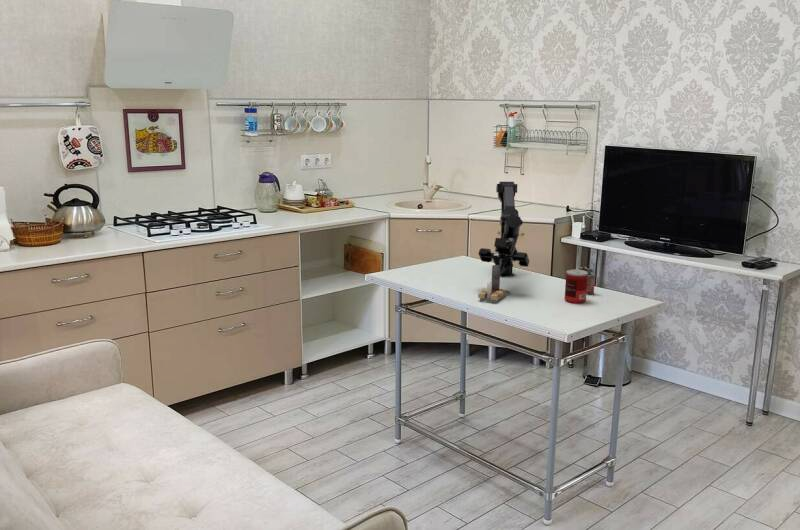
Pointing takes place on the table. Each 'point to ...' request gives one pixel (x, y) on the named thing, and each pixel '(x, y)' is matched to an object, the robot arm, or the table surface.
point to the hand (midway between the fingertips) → (497, 275)
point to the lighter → (589, 280)
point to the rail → (489, 288)
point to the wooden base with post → (494, 285)
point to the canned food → (576, 286)
